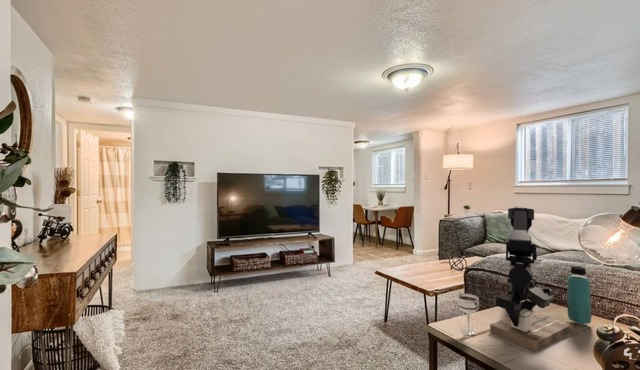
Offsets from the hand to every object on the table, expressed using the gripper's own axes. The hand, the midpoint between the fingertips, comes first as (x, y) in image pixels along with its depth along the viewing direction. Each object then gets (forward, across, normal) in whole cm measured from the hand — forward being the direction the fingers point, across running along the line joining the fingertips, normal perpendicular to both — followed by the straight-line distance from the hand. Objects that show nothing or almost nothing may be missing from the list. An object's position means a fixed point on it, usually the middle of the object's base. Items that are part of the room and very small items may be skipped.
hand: (521, 324), depth 103 cm
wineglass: (+4, -12, +10) cm, 16 cm away
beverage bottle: (+4, +25, -6) cm, 26 cm away
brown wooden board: (+4, +6, 0) cm, 7 cm away
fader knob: (+2, 0, 0) cm, 2 cm away
